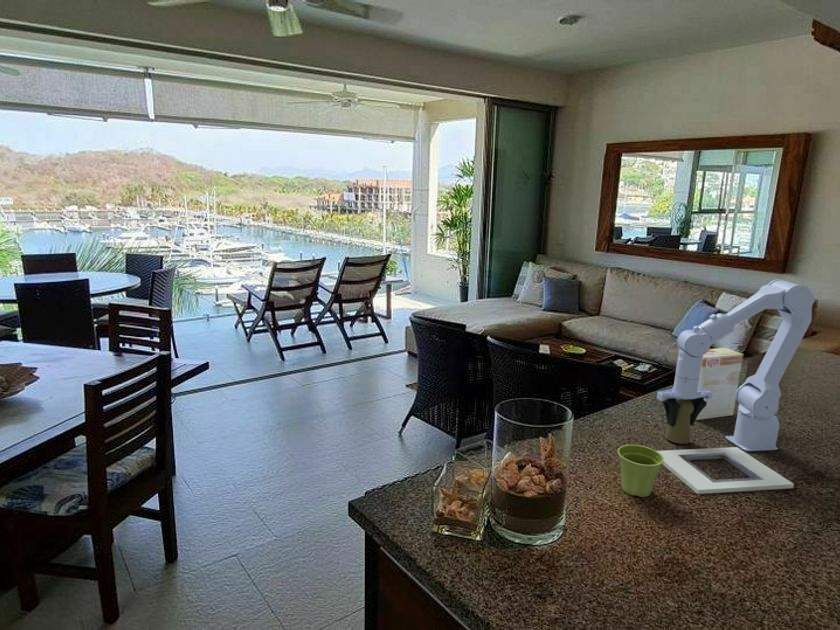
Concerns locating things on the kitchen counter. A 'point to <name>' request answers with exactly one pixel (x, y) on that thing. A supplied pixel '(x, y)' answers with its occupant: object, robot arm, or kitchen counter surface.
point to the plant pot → (639, 469)
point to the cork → (681, 423)
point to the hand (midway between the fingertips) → (680, 424)
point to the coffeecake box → (720, 381)
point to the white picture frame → (704, 484)
